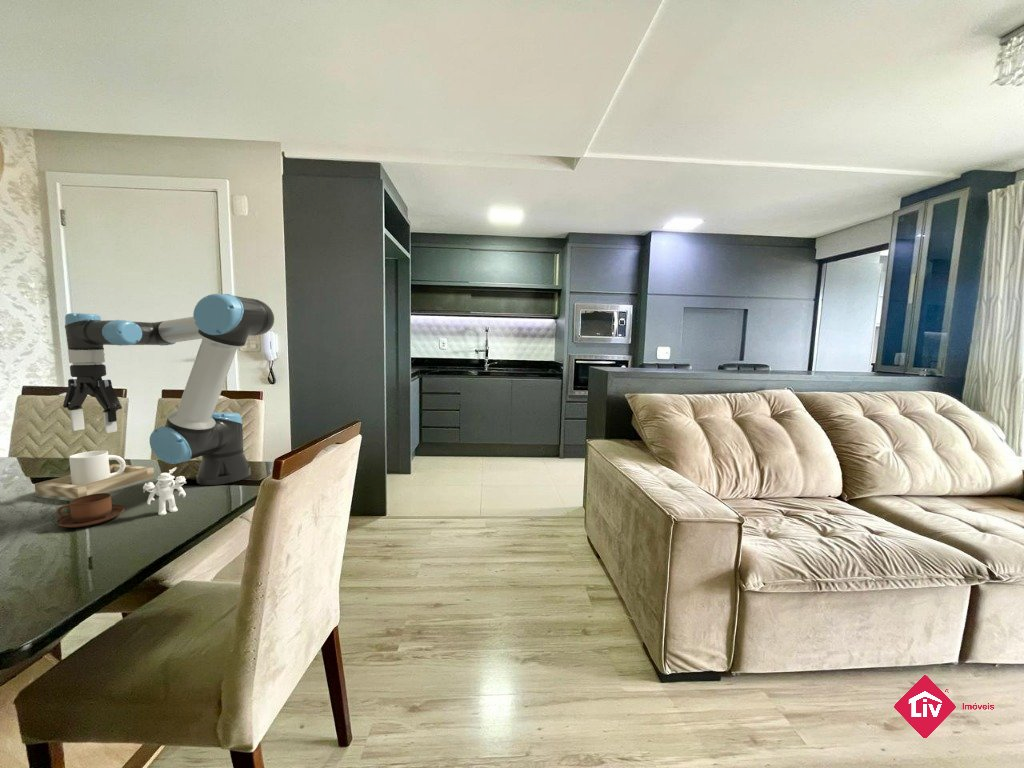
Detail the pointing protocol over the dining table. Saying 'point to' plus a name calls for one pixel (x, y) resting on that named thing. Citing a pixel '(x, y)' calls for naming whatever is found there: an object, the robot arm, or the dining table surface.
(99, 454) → the mug
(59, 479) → the board
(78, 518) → the cup and saucer
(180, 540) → the dining table surface
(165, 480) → the white toy figurine
